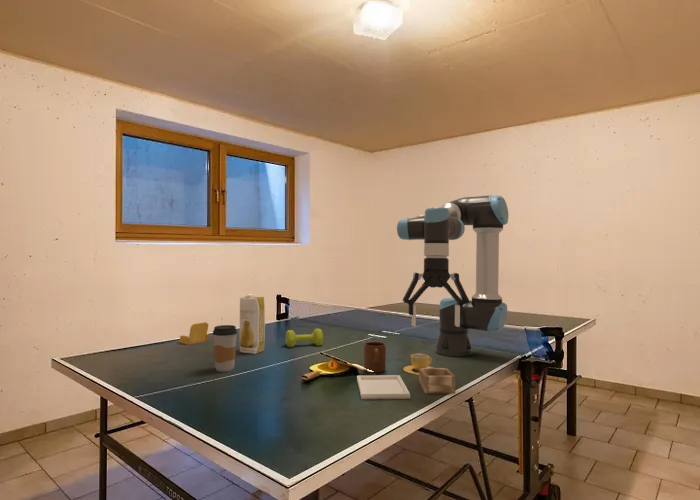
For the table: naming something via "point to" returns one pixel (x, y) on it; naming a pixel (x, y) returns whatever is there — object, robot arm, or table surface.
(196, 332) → the yellow stepped piece
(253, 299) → the juice carton
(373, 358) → the mug
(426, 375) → the oak box
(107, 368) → the table surface
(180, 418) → the table surface
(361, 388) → the tray
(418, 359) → the cup
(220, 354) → the coffee cup
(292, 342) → the dumbbell
